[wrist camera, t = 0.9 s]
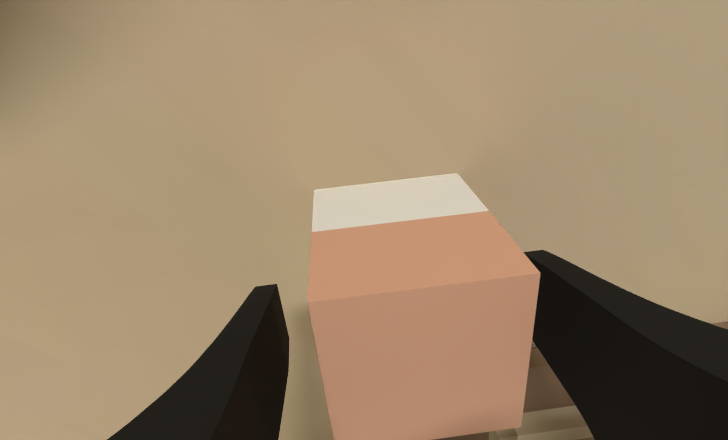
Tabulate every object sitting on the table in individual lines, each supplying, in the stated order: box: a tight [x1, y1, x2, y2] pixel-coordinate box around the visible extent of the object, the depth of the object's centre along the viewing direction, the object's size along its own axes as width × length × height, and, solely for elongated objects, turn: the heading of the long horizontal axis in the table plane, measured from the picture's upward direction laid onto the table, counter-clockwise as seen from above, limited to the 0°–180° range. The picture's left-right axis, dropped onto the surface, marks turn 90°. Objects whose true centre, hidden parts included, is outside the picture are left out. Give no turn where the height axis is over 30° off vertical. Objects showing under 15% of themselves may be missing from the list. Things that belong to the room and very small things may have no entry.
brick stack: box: [308, 173, 541, 440], centre depth 12 cm, size 5×5×6 cm
